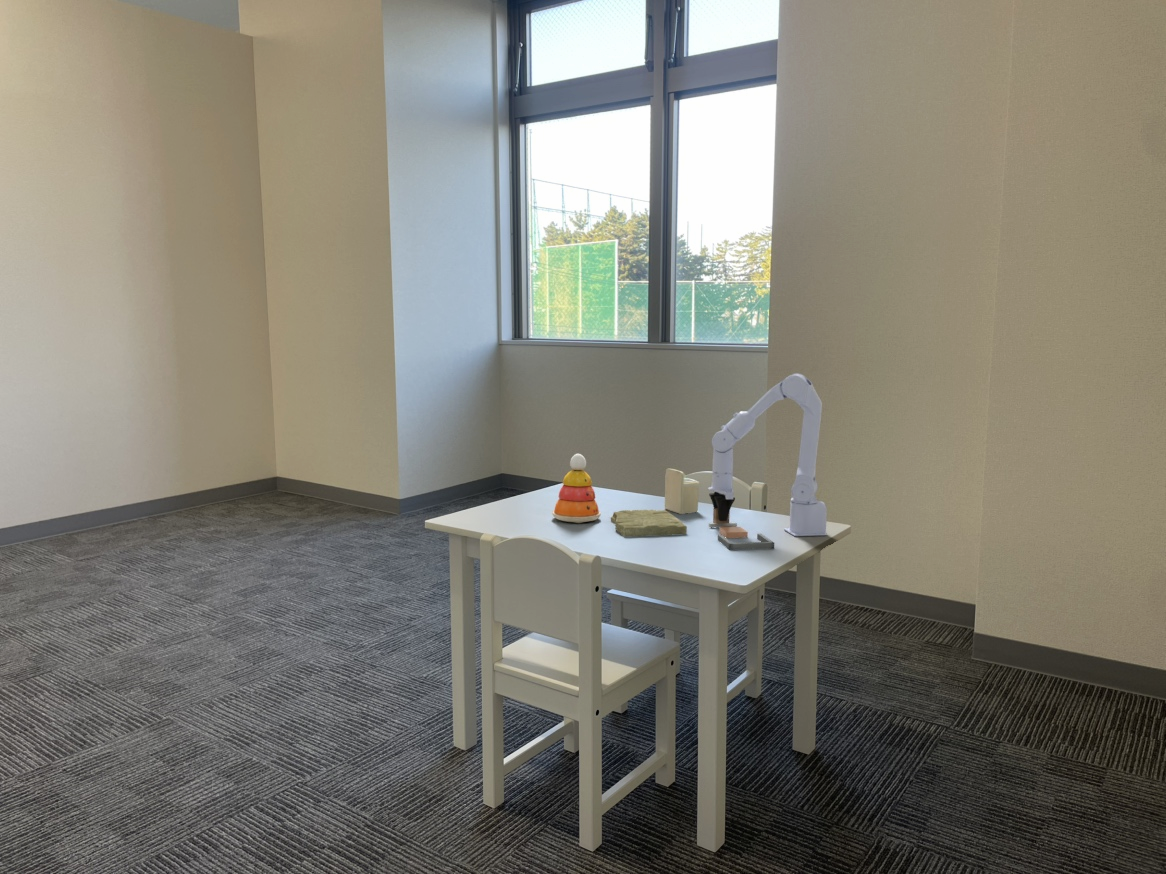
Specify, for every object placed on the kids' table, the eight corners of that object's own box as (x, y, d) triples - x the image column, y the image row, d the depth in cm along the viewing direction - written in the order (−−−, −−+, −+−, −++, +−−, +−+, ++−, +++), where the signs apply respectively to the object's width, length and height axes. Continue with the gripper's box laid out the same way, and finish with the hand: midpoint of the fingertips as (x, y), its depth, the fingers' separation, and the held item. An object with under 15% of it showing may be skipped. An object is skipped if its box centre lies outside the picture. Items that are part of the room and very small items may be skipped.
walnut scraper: (733, 524, 250) (733, 507, 249) (736, 527, 246) (737, 510, 246) (706, 525, 248) (706, 508, 248) (709, 528, 245) (710, 510, 244)
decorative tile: (666, 519, 257) (667, 508, 257) (687, 536, 238) (687, 523, 237) (605, 522, 254) (605, 510, 253) (621, 538, 234) (621, 526, 234)
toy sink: (700, 512, 266) (701, 470, 264) (680, 514, 262) (681, 472, 260) (683, 507, 273) (684, 466, 271) (664, 509, 269) (665, 467, 268)
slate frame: (760, 540, 233) (760, 533, 233) (774, 550, 223) (774, 542, 223) (717, 542, 231) (717, 534, 231) (729, 551, 221) (729, 544, 221)
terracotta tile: (740, 533, 240) (740, 526, 240) (747, 539, 234) (747, 531, 234) (719, 534, 240) (719, 527, 239) (726, 539, 234) (726, 532, 233)
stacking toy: (581, 527, 245) (581, 459, 242) (542, 520, 253) (542, 454, 251) (610, 518, 256) (611, 453, 253) (572, 512, 264) (572, 449, 262)
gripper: (701, 468, 252) (700, 514, 254) (716, 477, 238) (715, 525, 240) (725, 468, 253) (723, 513, 255) (741, 476, 239) (739, 524, 241)
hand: (721, 519), depth 247 cm, fingers open, 3 cm apart
